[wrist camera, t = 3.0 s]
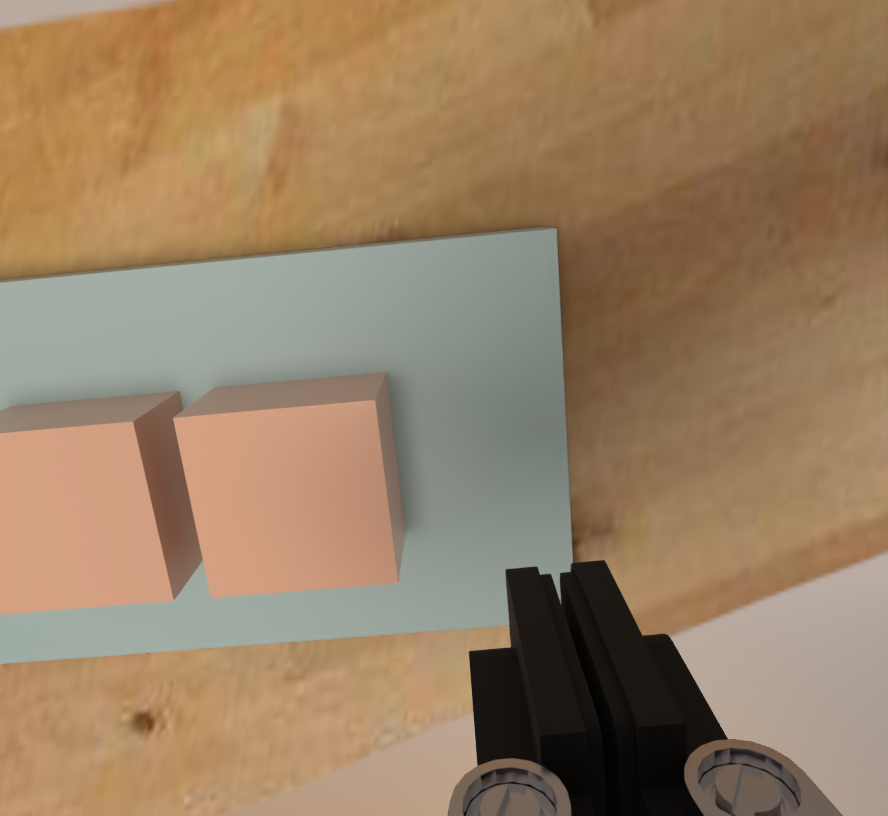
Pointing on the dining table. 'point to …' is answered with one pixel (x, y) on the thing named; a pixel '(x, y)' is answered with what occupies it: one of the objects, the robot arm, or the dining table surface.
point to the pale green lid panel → (321, 356)
